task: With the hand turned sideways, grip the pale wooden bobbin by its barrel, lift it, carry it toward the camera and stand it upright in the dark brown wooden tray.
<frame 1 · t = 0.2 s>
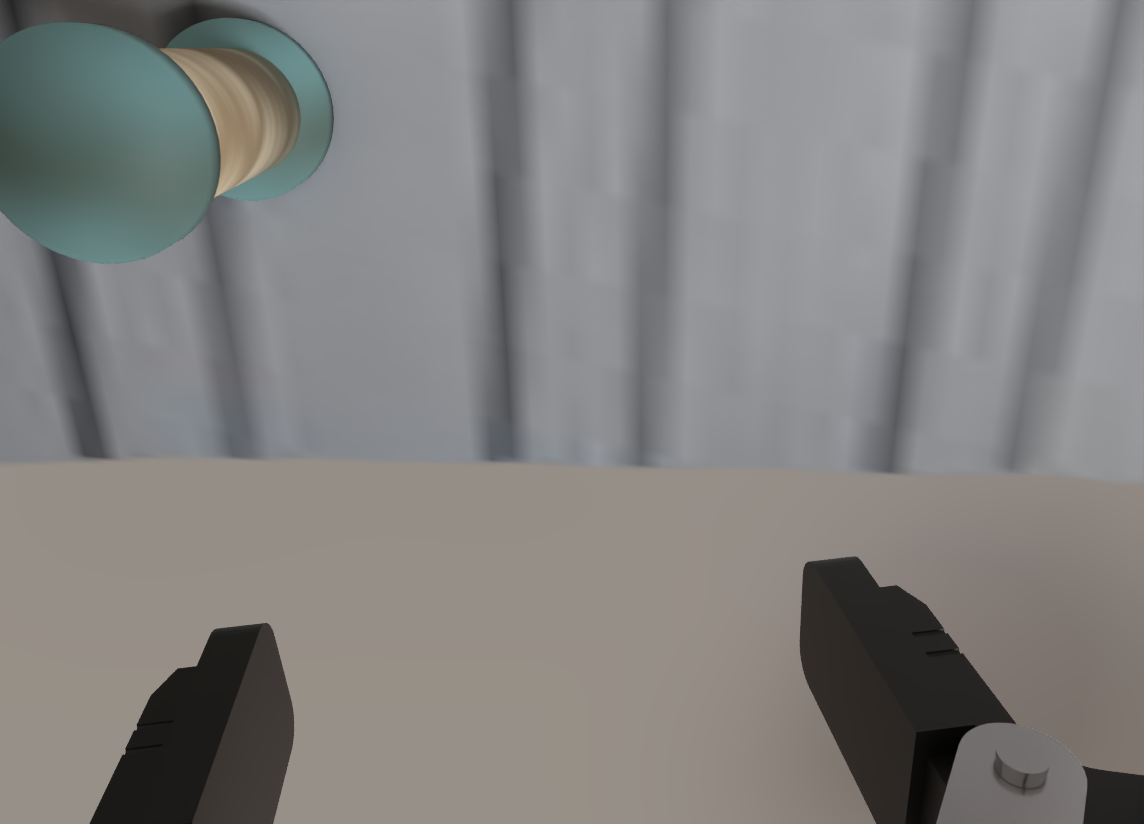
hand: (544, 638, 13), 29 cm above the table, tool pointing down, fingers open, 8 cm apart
bobbin: (247, 110, 37), on the table
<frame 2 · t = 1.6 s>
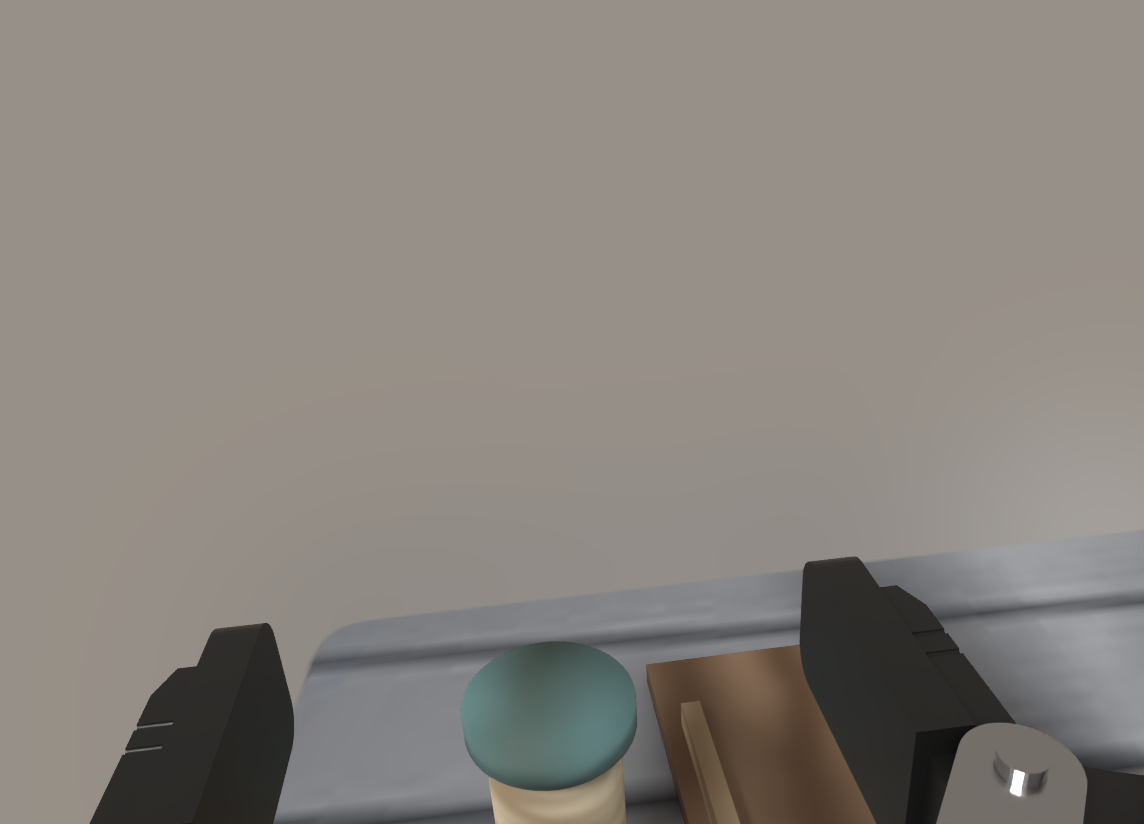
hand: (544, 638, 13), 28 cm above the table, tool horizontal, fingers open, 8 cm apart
brown wooden tray: (823, 800, 44), on the table
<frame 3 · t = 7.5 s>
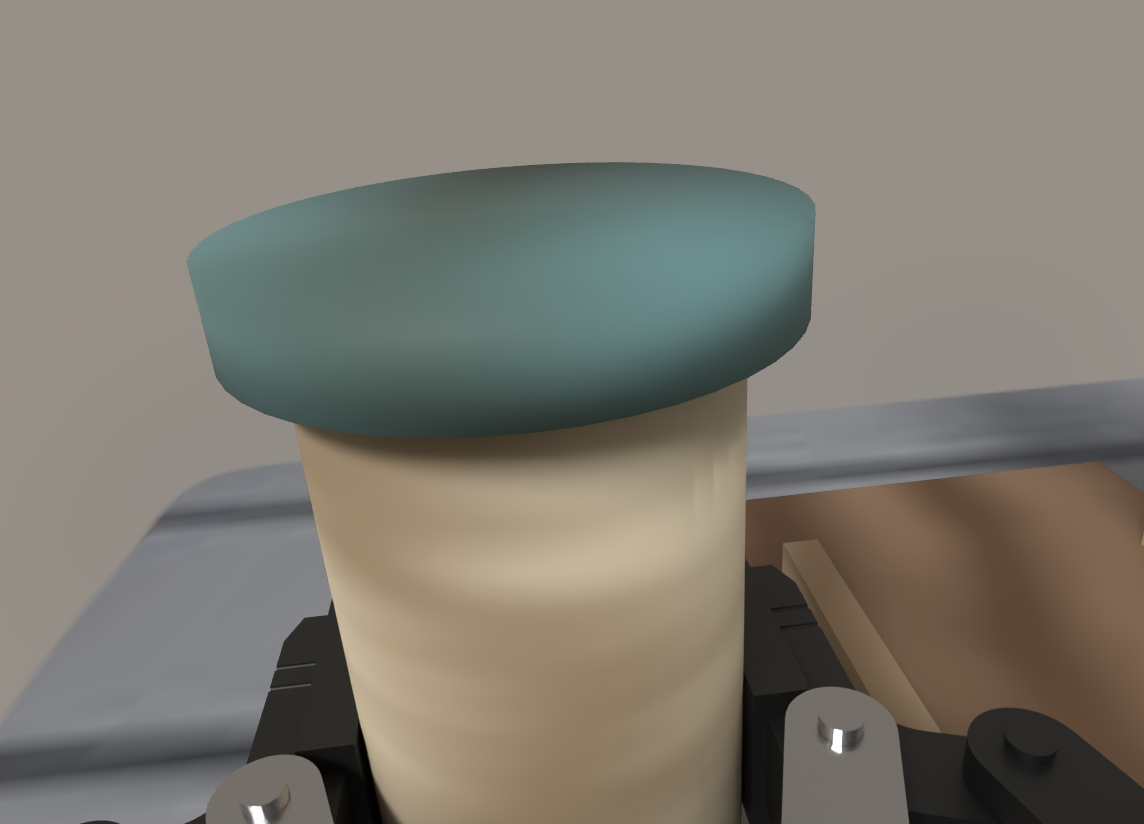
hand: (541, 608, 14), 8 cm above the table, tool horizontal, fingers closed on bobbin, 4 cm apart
brown wooden tray: (1075, 715, 22), on the table
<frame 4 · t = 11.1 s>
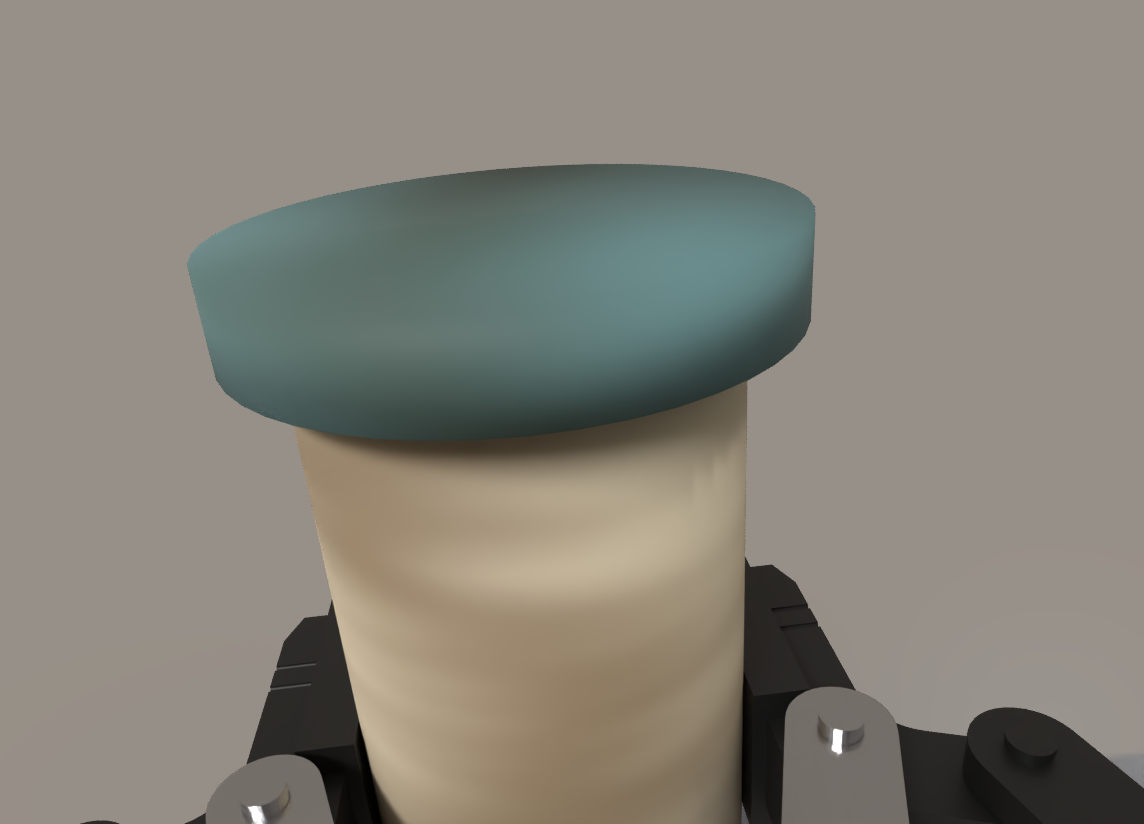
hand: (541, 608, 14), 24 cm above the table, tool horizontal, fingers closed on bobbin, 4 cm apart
when the fingers open (11 cm above the table, at t = 14.7 s): bobbin stays where it is, resting on brown wooden tray.
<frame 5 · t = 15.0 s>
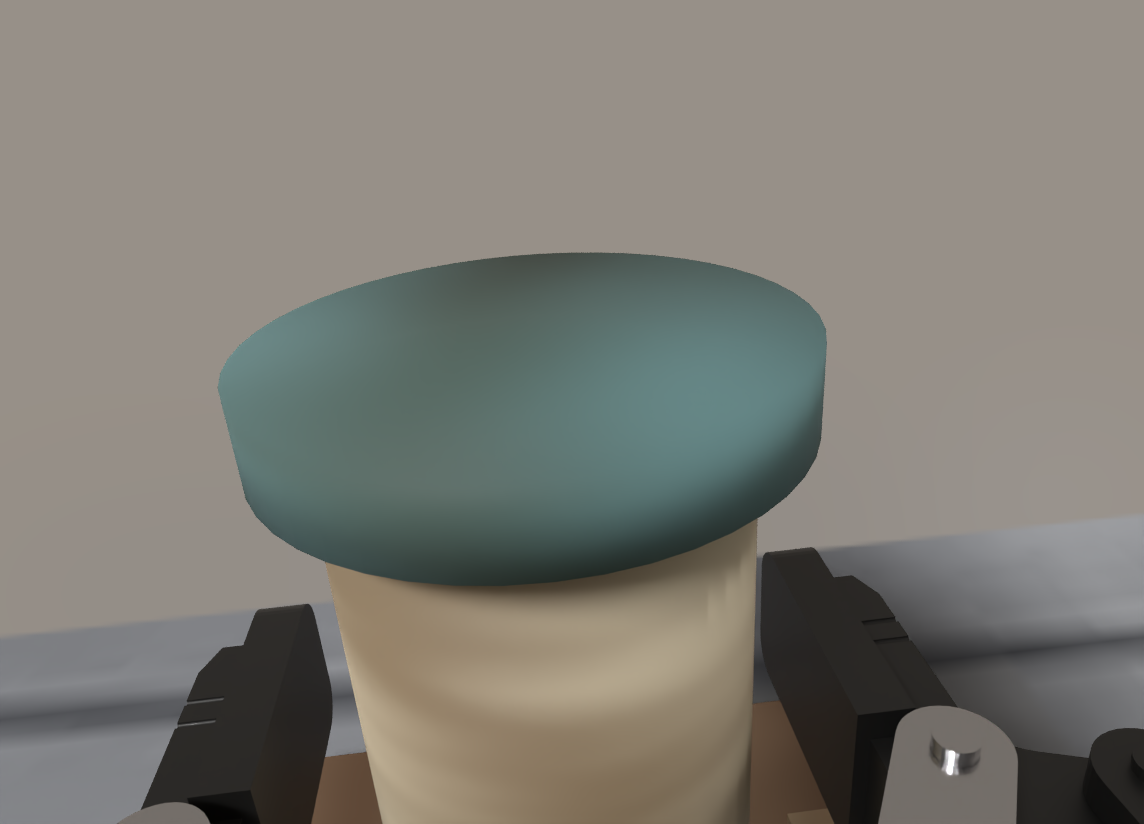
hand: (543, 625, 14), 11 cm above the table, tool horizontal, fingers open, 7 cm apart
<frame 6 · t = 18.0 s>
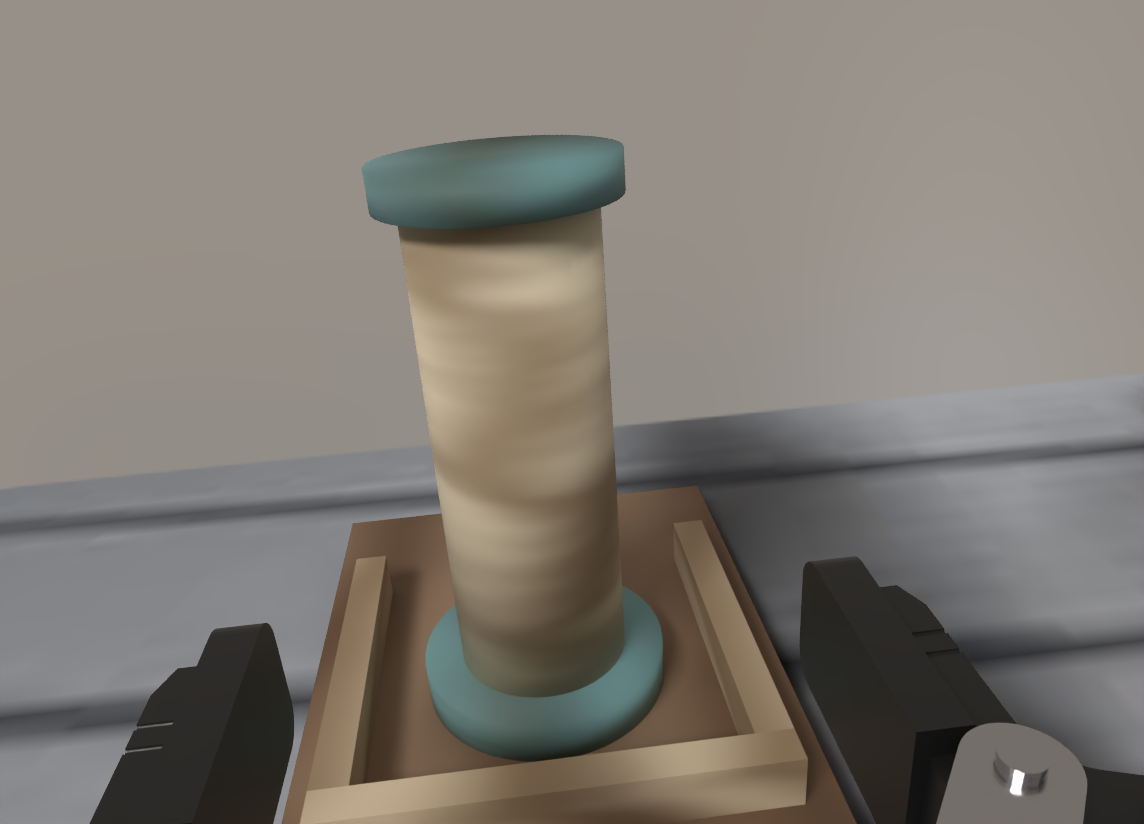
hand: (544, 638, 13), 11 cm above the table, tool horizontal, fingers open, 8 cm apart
brown wooden tray: (548, 700, 27), on the table
bobbin: (547, 671, 27), point 1 cm above the table, touching brown wooden tray
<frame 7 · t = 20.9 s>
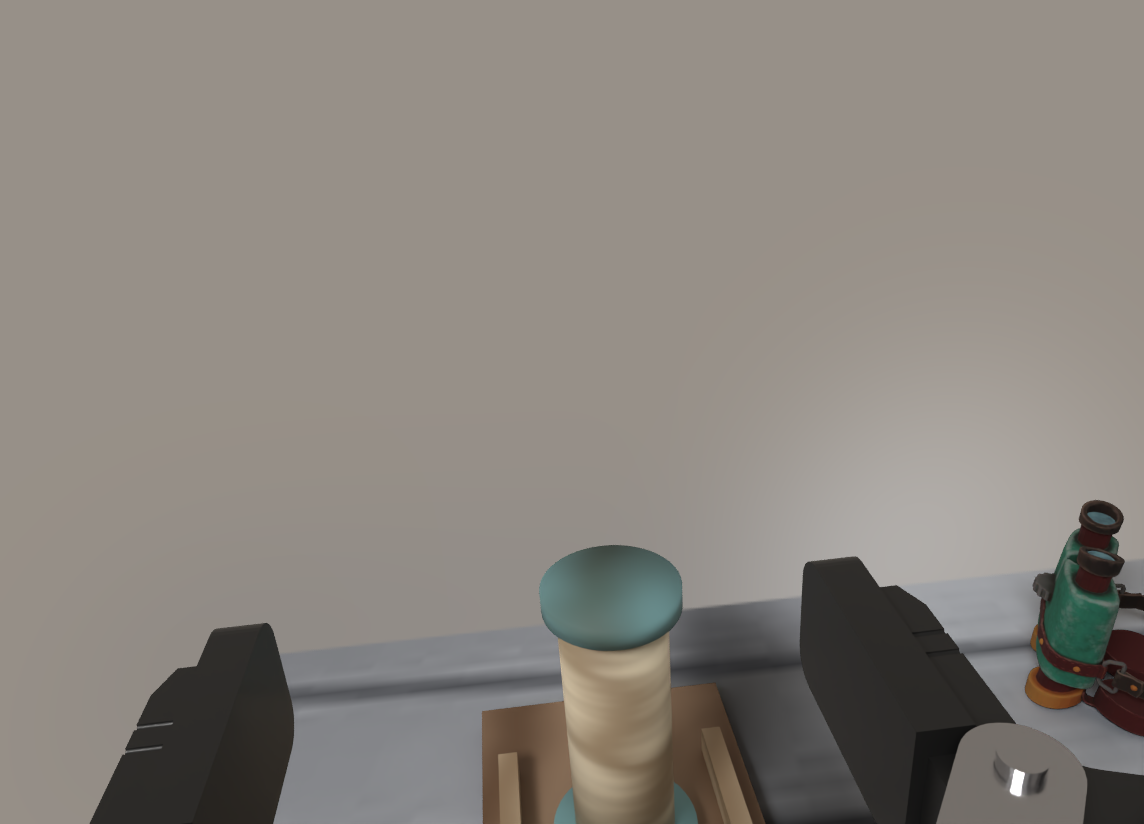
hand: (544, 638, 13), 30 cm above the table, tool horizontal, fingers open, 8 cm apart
binoculars: (1110, 689, 53), on the table
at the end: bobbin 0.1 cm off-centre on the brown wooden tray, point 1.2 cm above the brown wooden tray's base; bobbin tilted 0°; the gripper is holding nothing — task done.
